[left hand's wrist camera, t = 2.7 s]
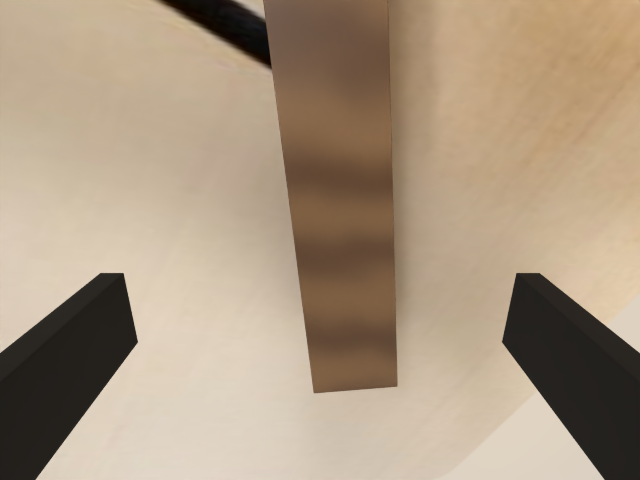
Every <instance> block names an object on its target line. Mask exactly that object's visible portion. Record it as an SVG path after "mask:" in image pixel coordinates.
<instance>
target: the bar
mask: <svg viewBox="0 0 640 480" xmlns="http://www.w3.org/2000/svg"><path fill="white" fill-rule="evenodd" d="M263 2H264V10H265V18H266V25H267V33H268V41H269V49H270V56H271V64H272V72H273V80H274V88H275V95H276V103H277V111H278V119H279V126H280V134H281V142H282V150H283V157H284V165H285V173H286V181H287V189H288V196H289V204H290V212H291V220H292V227H293V235H294V243H295V251H296V259H297V266H298V274H299V282H300V290H301V297H302V305H303V313H304V321H305V329H306V336H307V344H308V352H309V360H310V367H311V375H312V383H313V391H314V393H323V392H336V391H348V390H360V389H373V388H385V387H397V347H396V307H395V266H394V226H393V185H392V145H391V105H390V64H389V24H388V0H263Z"/></svg>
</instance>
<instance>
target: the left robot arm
mask: <svg viewBox="0 0 640 480" xmlns="http://www.w3.org/2000/svg"><path fill="white" fill-rule="evenodd" d="M137 343H138V340H137V335H136V331H135V326H134V321H133V316H132V312H131V307H130V302H129V297H128V292H127V288H126V283H125V278H124V273H100V274H99V275H98V276H96V277H95V278H94V279H93V280H91V281H90V282H89V283H88V284H86V285H85V286H84V287H83V288H81V289H80V290H79V291H78V292H76V293H75V294H74V295H73V296H71V297H70V298H69V299H68V300H66V301H65V302H64V303H63V304H61V305H60V306H59V307H58V308H56V309H55V310H54V311H53V312H51V313H50V314H49V315H47V316H46V317H45V318H44V319H42V320H41V321H40V322H39V323H37V324H36V325H35V326H34V327H32V328H31V329H30V330H29V331H27V332H26V333H25V334H24V335H22V336H21V337H20V338H19V339H17V340H16V341H15V342H14V343H12V344H11V345H10V346H9V347H7V348H6V349H5V350H4V351H2V352H1V353H0V480H36V478H37V477H38V475H39V474H40V473H41V471H42V470H43V469H44V467H45V466H46V465H47V463H48V462H49V461H50V459H51V458H52V457H53V455H54V454H55V453H56V451H57V450H58V449H59V447H60V446H61V445H62V443H63V442H64V441H65V439H66V438H67V437H68V435H69V434H70V433H71V431H72V430H73V429H74V427H75V426H76V425H77V423H78V422H79V421H80V419H81V418H82V416H83V415H84V414H85V412H86V411H87V410H88V408H89V407H90V406H91V404H92V403H93V402H94V400H95V399H96V398H97V396H98V395H99V394H100V392H101V391H102V390H103V388H104V387H105V386H106V384H107V383H108V382H109V380H110V379H111V378H112V376H113V375H114V374H115V372H116V371H117V370H118V368H119V367H120V366H121V364H122V363H123V362H124V360H125V359H126V357H127V356H128V355H129V353H130V352H131V351H132V349H133V348H134V347H135V345H136V344H137ZM502 343H503V344H504V345H505V347H506V348H507V349H508V351H509V352H510V353H511V355H512V356H513V357H514V359H515V360H516V362H517V363H518V364H519V366H520V367H521V368H522V370H523V371H524V372H525V374H526V375H527V376H528V378H529V379H530V380H531V382H532V383H533V384H534V386H535V387H536V388H537V390H538V391H539V392H540V394H541V395H542V396H543V398H544V399H545V400H546V402H547V403H548V404H549V406H550V407H551V408H552V410H553V411H554V412H555V414H556V415H557V416H558V418H559V419H560V421H561V422H562V423H563V425H564V426H565V427H566V428H567V430H568V431H569V433H570V434H571V435H572V437H573V438H574V439H575V441H576V442H577V443H578V445H579V446H580V447H581V449H582V450H583V451H584V453H585V454H586V455H587V457H588V458H589V459H590V461H591V462H592V463H593V465H594V466H595V467H596V469H597V470H598V471H599V473H600V474H601V475H602V477H603V478H604V479H605V480H640V353H639V352H638V351H636V350H635V349H634V348H633V347H631V346H630V345H629V344H628V343H626V342H625V341H624V340H623V339H621V338H620V337H619V336H618V335H616V334H615V333H614V332H613V331H611V330H610V329H609V328H607V327H606V326H605V325H604V324H603V323H601V322H600V321H599V320H598V319H596V318H595V317H594V316H593V315H591V314H590V313H589V312H587V311H586V310H585V309H584V308H582V307H581V306H580V305H579V304H577V303H576V302H575V301H574V300H572V299H571V298H570V297H569V296H567V295H566V294H565V293H564V292H562V291H561V290H560V289H559V288H557V287H556V286H555V285H554V284H552V283H551V282H550V281H549V280H547V279H546V278H545V277H544V276H542V275H541V274H540V273H516V278H515V283H514V288H513V292H512V297H511V302H510V307H509V312H508V316H507V321H506V326H505V331H504V335H503V340H502Z"/></svg>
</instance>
